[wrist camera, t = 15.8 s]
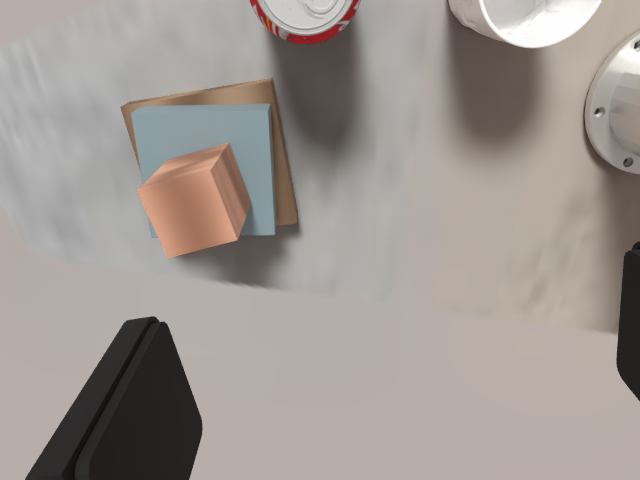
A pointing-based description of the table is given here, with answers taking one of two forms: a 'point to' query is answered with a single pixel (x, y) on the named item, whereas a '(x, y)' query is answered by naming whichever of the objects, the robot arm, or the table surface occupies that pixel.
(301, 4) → the soda can
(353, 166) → the table surface
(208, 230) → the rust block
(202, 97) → the base block
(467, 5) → the white cup
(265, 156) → the top block
